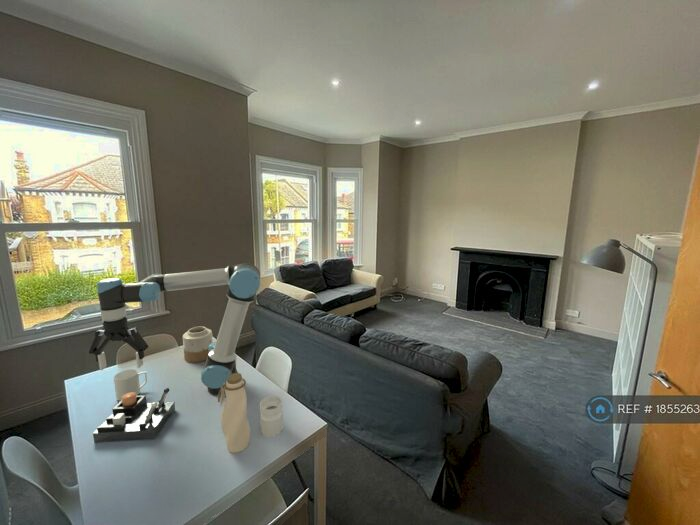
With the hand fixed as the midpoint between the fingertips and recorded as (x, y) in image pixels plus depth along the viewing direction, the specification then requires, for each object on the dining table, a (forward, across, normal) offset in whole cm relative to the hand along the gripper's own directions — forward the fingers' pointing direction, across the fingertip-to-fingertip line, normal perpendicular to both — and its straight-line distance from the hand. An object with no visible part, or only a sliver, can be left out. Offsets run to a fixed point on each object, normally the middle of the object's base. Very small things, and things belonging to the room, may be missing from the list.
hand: (122, 367), depth 115 cm
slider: (+19, -3, +10) cm, 21 cm away
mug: (+23, +7, -15) cm, 28 cm away
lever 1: (+17, -13, +10) cm, 24 cm away
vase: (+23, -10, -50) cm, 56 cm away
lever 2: (+17, -13, +1) cm, 22 cm away
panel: (+23, -6, +6) cm, 24 cm away
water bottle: (+24, -48, +21) cm, 57 cm away
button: (+16, -2, +1) cm, 16 cm away
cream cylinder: (+24, -60, +14) cm, 66 cm away
